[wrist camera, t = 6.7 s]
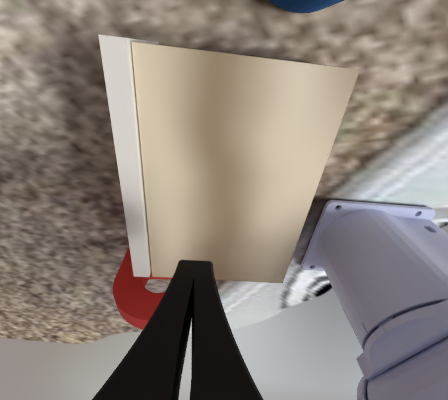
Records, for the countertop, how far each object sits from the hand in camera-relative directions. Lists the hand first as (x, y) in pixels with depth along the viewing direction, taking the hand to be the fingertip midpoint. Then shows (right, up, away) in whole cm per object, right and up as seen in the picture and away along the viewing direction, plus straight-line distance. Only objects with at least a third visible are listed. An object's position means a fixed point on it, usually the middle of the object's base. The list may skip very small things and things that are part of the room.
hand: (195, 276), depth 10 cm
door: (-4, +7, +6) cm, 10 cm away
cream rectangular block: (+1, +6, +7) cm, 10 cm away
